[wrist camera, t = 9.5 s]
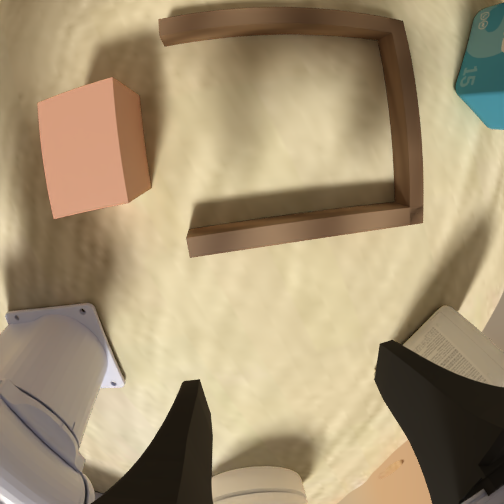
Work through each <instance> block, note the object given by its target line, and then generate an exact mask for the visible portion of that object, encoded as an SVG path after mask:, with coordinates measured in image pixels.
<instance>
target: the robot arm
mask: <svg viewBox="0 0 504 504" xmlns="http://www.w3.org/2000/svg"><path fill="white" fill-rule="evenodd" d="M81 309H84V310H85V312H83V311H82V310H81ZM17 316H18V317H19V318H18V317H17ZM5 317H6V320H7V322H8V324H9V325H8V326H7V327H6V328H5V329H4V330H3V331H2V333H1V334H0V504H213V498H212V482H211V481H212V442H213V434H212V423H211V413H210V410H209V407H208V404H207V401H206V398H205V395H204V392H203V388H202V385H201V382H200V379H199V380H190V381H184V382H183V383H182V385H181V387H180V390H179V392H178V394H177V397H176V399H175V401H174V403H173V405H172V407H171V409H170V411H169V413H168V415H167V417H166V419H165V420H164V422H163V424H162V426H161V427H160V429H159V431H158V432H157V434H156V436H155V437H154V439H153V440H152V442H151V443H150V445H149V446H148V448H147V449H146V450H145V452H144V453H143V454H142V456H141V457H140V458H139V459H138V461H137V462H136V463H135V464H134V465H133V466H132V467H131V469H130V470H129V471H128V472H127V473H126V474H125V475H124V476H123V477H122V478H121V479H120V480H119V481H118V482H117V483H116V484H114V485H113V486H112V487H111V488H110V489H109V490H108V491H107V492H105V493H104V494H103V495H102V496H100V497H99V498H98V499H96V500H95V494H94V489H93V486H92V484H91V482H90V480H89V479H88V477H87V476H86V475H85V474H83V473H82V471H83V467H84V464H85V460H86V459H85V458H84V457H83V456H82V455H81V454H80V452H79V447H80V444H81V441H82V438H83V435H84V432H85V429H86V426H87V423H88V420H89V417H90V414H91V412H92V409H93V406H94V403H95V401H96V398H97V395H98V392H99V390H100V388H120V387H124V385H125V380H124V377H123V375H122V373H121V371H120V369H119V366H118V364H117V362H116V360H115V357H114V355H113V353H112V350H111V348H110V345H109V343H108V340H107V338H106V335H105V333H104V330H103V328H102V325H101V323H100V320H99V317H98V314H97V312H96V309H95V307H94V306H93V305H92V304H91V303H82V304H74V305H65V306H56V307H47V308H37V309H27V310H17V311H9V312H7V313H6V315H5ZM374 380H375V382H376V385H377V387H378V389H379V391H380V394H381V396H382V398H383V400H384V401H385V403H386V405H387V406H388V408H389V409H390V411H391V413H392V414H393V416H394V417H395V419H396V420H397V422H398V424H399V425H400V427H401V428H402V430H403V431H404V433H405V435H406V436H407V438H408V440H409V442H410V444H411V446H412V448H413V450H414V453H415V455H416V457H417V459H418V462H419V464H420V467H421V469H422V472H423V475H424V477H425V481H426V484H427V487H428V490H429V493H430V496H431V500H432V504H504V387H499V386H494V385H490V384H486V383H482V382H478V381H475V380H472V379H469V378H466V377H464V376H461V375H458V374H456V373H454V372H452V371H449V370H447V369H445V368H443V367H441V366H439V365H437V364H435V363H433V362H431V361H429V360H427V359H426V358H424V357H422V356H420V355H418V354H417V353H415V352H413V351H411V350H410V349H408V348H406V347H404V346H403V345H401V344H399V343H397V342H395V341H393V340H391V341H388V342H384V343H381V344H380V346H379V353H378V360H377V366H376V373H375V379H374ZM112 381H113V382H112ZM114 382H115V383H114Z"/></svg>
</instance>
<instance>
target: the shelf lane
mask: <svg viewBox="0 0 504 504" xmlns="http://www.w3.org/2000/svg"><path fill="white" fill-rule="evenodd" d="M158 20H159V35H160V38H161V40H162V42H163V44H164V46H171V45H176V44H182V43H188V42H194V41H201V40H209V39H217V38H226V37H237V36H252V35H276V34H304V35H328V36H342V37H353V38H363V39H371V40H378V43H379V48H380V53H381V59H382V64H383V70H384V76H385V83H386V90H387V97H388V105H389V114H390V123H391V134H392V147H393V163H394V189H395V202H390V203H381V204H372V205H363V206H355V207H346V208H338V209H329V210H321V211H313V212H306V213H298V214H290V215H283V216H276V217H268V218H261V219H254V220H247V221H240V222H233V223H227V224H220V225H213V226H207V227H201V228H194V229H189V231H188V234H187V237H186V239H187V245H188V250H189V255H190V258H192V257H198V256H205V255H212V254H218V253H225V252H231V251H238V250H245V249H251V248H258V247H264V246H271V245H278V244H284V243H291V242H298V241H304V240H311V239H318V238H325V237H331V236H338V235H345V234H352V233H358V232H365V231H372V230H379V229H386V228H392V227H399V226H406V225H413V224H420V223H423V156H422V139H421V127H420V116H419V107H418V99H417V91H416V85H415V78H414V72H413V66H412V61H411V55H410V50H409V45H408V41H407V36H406V32H405V28H404V24H403V21H401V20H396V19H391V18H386V17H381V16H375V15H370V14H363V13H356V12H348V11H340V10H330V9H317V8H297V7H259V8H239V9H226V10H216V11H207V12H199V13H192V14H186V15H180V16H174V17H168V18H163V19H158Z"/></svg>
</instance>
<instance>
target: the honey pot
mask: <svg viewBox="0 0 504 504" xmlns="http://www.w3.org/2000/svg"><path fill="white" fill-rule="evenodd" d="M211 482H212V498H213V504H307V500H306V494H305V490H304V487H303V483H302V480H301V477H300V476H299V474H298V473H297V472H295V471H293V470H291V469H287V468H282V467H273V466H255V467H246V468H238V469H234V470H230V471H226V472H223V473H220V474H218V475H215V476H213V477H212V481H211Z"/></svg>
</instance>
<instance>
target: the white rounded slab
mask: <svg viewBox="0 0 504 504" xmlns="http://www.w3.org/2000/svg"><path fill="white" fill-rule="evenodd" d="M403 346H404V347H406V348H408V349H410V350H411V351H413V352H415V353H417V354H418V355H420V356H422V357H424V358H426V359H427V360H429V361H431V362H433V363H435V364H437V365H439V366H441V367H443V368H445V369H447V370H449V371H452V372H454V373H456V374H458V375H461V376H464V377H466V378H469V379H472V380H475V381H478V382H482V383H486V384H490V385H494V386H499V387H504V352H503V351H502V350H500V348H499V347H498V346H496V345H495V344H494V343H493V342H492V341H491V340H490V339H489V338H487V337H486V336H485V335H484V334H483V333H482V332H481V331H479V330H478V329H477V328H476V327H475V326H474V325H472V324H471V323H470V322H469V321H468V320H467V319H465V318H464V317H463V316H462V315H461V314H459V313H458V312H457V311H456V310H454V309H453V308H452V307H450V306H446V305H443V306H442V307H440V308H439V309H438V310H437V311H436V312H435V313H434V314H433V315H432V316H431V317H430V318H429V319H428V320H427V321H426V322H425V323H424V324H423V325H422V326H421V327H420V328H419V329H418V330H417V331H416V332H415V333H414V334H413V335H412V336H411V337H410V338H409V339H408V340H407V341H406V342H405V343H404V344H403ZM375 373H376V372H375ZM375 373H374V375H375Z"/></svg>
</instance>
